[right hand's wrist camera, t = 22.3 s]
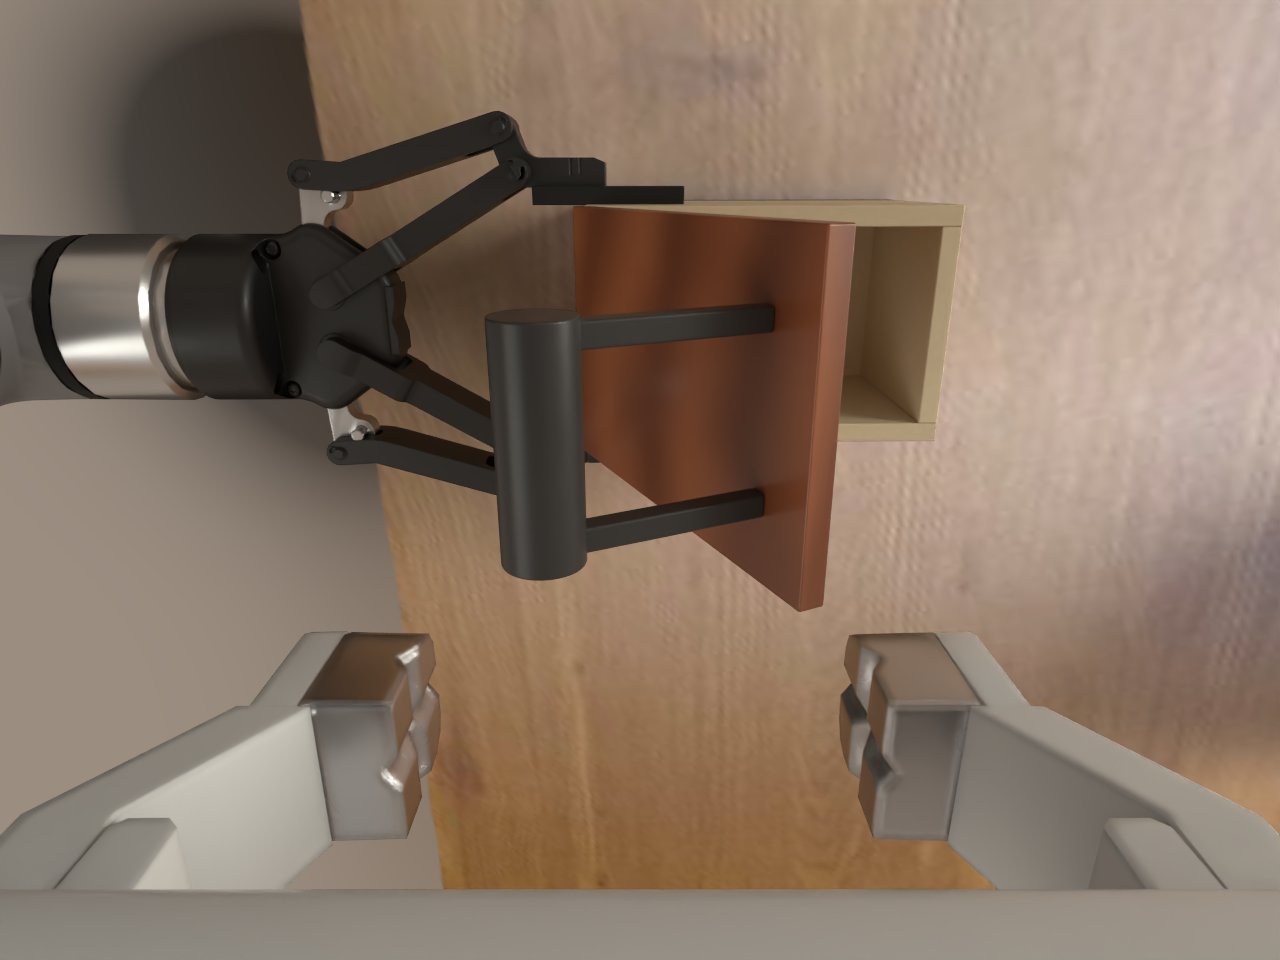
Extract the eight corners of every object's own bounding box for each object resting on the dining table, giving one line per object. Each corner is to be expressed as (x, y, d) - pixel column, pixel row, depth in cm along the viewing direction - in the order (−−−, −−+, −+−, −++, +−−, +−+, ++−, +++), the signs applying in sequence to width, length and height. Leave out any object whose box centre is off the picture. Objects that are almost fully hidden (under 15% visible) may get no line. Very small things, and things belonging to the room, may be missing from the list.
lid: (857, 222, 19) (510, 231, 15) (823, 606, 22) (535, 683, 19) (592, 205, 32) (378, 209, 29) (596, 444, 36) (407, 472, 32)
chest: (888, 199, 43) (966, 204, 33) (869, 385, 46) (935, 441, 36) (594, 200, 42) (582, 205, 33) (597, 387, 46) (588, 443, 36)
